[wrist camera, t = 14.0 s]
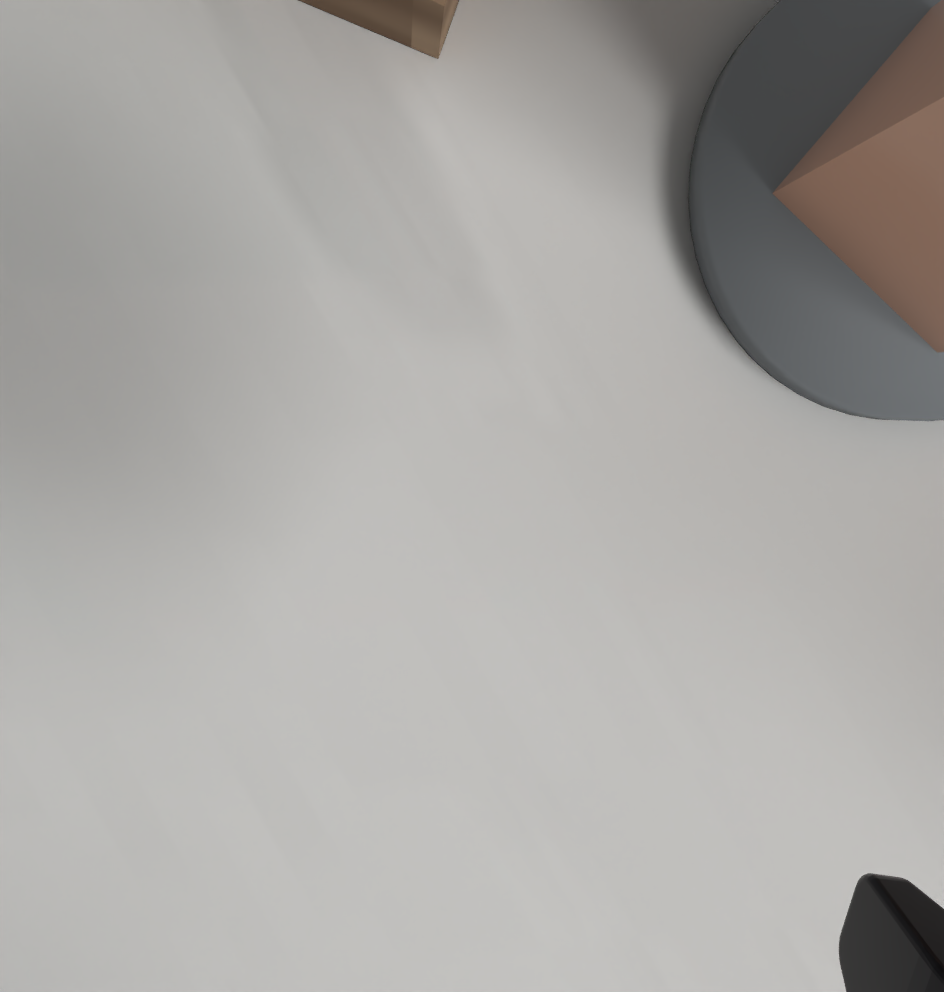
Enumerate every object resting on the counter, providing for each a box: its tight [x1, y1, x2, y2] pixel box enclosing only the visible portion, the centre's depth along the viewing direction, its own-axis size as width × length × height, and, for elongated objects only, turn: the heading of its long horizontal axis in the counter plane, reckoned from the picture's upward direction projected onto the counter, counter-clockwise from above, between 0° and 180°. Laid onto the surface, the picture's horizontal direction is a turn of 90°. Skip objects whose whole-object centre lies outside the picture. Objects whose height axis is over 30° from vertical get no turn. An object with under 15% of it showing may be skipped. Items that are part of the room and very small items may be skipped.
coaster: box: [689, 0, 944, 421], centre depth 19 cm, size 10×10×1 cm
